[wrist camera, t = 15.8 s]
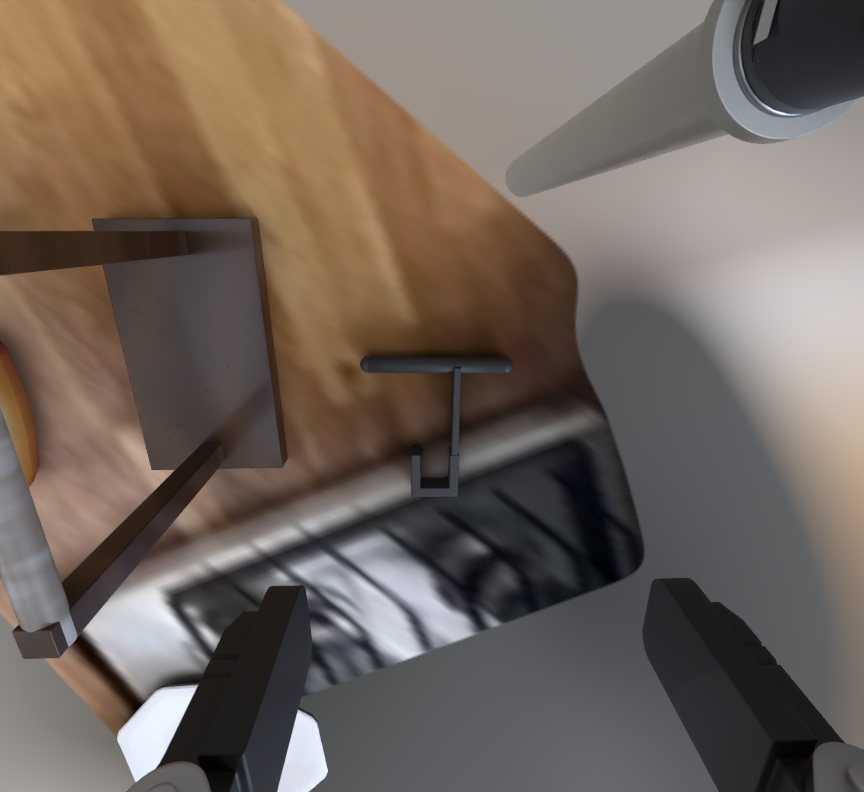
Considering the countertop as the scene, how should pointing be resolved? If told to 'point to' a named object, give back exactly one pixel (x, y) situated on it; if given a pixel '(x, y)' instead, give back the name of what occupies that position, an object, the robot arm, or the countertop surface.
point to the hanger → (455, 366)
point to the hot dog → (18, 416)
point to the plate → (163, 713)
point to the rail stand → (150, 396)
